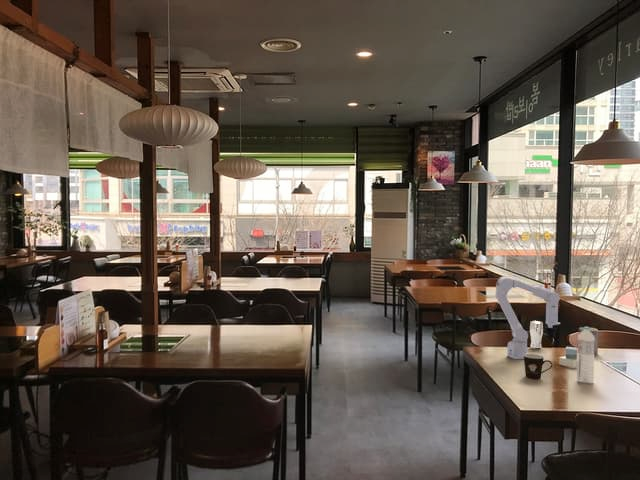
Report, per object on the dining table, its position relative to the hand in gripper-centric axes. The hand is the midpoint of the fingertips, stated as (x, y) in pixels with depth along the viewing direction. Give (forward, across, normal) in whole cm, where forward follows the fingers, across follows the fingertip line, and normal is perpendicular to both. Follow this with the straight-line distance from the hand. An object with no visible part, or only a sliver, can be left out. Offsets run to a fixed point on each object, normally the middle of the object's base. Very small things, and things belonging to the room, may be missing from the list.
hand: (551, 339), depth 276 cm
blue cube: (+7, -9, -10) cm, 15 cm away
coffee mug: (+11, -44, +1) cm, 45 cm away
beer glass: (+11, +23, +11) cm, 28 cm away
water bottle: (+11, -38, -18) cm, 44 cm away
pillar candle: (+11, +25, -16) cm, 32 cm away
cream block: (+11, -9, -11) cm, 18 cm away
